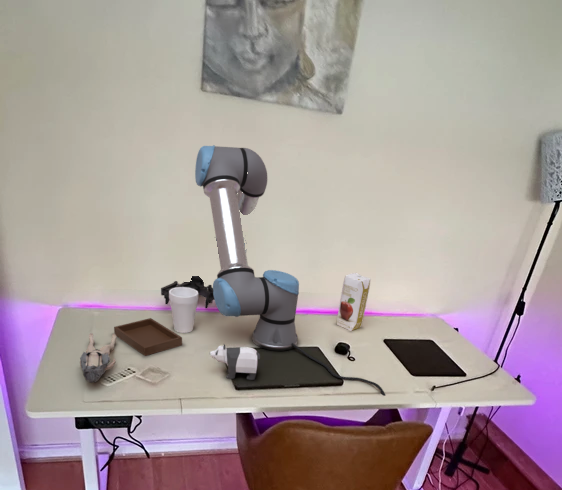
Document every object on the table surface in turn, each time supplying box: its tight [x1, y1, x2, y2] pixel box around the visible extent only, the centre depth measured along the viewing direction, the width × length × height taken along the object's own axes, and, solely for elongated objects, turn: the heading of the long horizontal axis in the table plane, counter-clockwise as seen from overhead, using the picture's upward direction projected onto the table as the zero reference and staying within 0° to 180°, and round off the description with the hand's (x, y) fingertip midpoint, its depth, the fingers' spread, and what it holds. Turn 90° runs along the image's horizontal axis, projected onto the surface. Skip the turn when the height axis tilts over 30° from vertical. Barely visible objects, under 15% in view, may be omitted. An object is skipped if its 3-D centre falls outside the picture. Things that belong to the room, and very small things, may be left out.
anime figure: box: [79, 333, 118, 383], centre depth 148 cm, size 10×7×30 cm
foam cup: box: [169, 287, 199, 334], centre depth 172 cm, size 10×9×13 cm
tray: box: [113, 317, 183, 357], centre depth 165 cm, size 18×14×3 cm
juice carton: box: [336, 272, 372, 332], centre depth 188 cm, size 8×9×19 cm
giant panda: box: [209, 343, 261, 381], centre depth 151 cm, size 15×6×10 cm, turn 93°
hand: (186, 302), depth 177 cm, fingers open, 13 cm apart
